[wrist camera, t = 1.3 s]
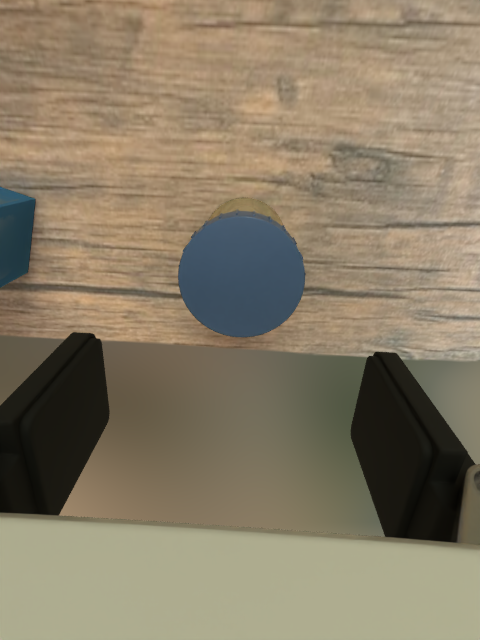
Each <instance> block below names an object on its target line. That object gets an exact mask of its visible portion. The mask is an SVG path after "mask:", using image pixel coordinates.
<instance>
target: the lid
mask: <svg viewBox="0 0 480 640" xmlns="http://www.w3.org/2000/svg"><path fill="white" fill-rule="evenodd" d="M191 238H192V239H191V241H190V242H189V243H188V245H186V247H185V248H184V250H183V255H182V258H181V260H180V265H179V273H178V280H179V288H180V292H181V295H182V298H183V300H184V302H185V304H186V306H187V308H188V309H189V311H190V312H191V313H192V314H193V316H194V317H195V318H196V319H197V320H198V321H200V322H201V323H202V324H203V325H205V326H206V327H208V328H209V329H211V330H213V331H215V332H218V333H220V334H223V335H227V336H232V337H252V336H257V335H261V334H264V333H267V332H269V331H271V330H273V329H275V328H276V327H278V326H279V325H281V324H282V323H283V322H285V321H286V320H287V319H288V318H289V317H290V315H291V314H292V313H293V312H294V310H295V309H296V307H297V306H298V304H299V302H300V300H301V297H302V294H303V290H304V285H305V270H304V265H303V257H302V255H301V253H300V252H299V250H298V248H297V246H296V244H297V243H296V241H295V239H294V237H293V238H292V237H291V236H290V234H289V233H288V232H287V231H286V229H285V227H284V225H282V226H281V225H280V224H279V223H278V222H276V221H275V220H273V219H271V216H269V217H267V216H265V215H263V214H259V213H256V212H255V211H253V212H250V211H239V210H236V211H234V212H228V213H225V214H222V213H220V215H219V216H217V217H215V218H213V219H211V220H210V221H208V220H207V221H206V222H205V223H204V225H203V226H202V227H201V228H200V229H199V230H198V231H197V232H196V231H195V232H194V234H193V235H192V236H191Z"/></svg>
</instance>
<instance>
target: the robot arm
mask: <svg viewBox="0 0 480 640" xmlns="http://www.w3.org/2000/svg"><path fill="white" fill-rule="evenodd" d="M108 420H109V404H108V394H107V386H106V377H105V368H104V359H103V351H102V343H101V340H100V339H96V337H95V335H94V334H91V333H76V332H73V333H72V334H70V335H69V336H68V338H67V339H66V340H65V341H64V342H63V343H62V344H61V345H60V346H59V347H58V348H57V349H56V350H55V351H54V352H53V353H52V354H51V355H50V356H49V357H48V358H47V359H46V360H45V361H44V362H43V363H42V364H41V365H40V366H39V367H38V368H37V369H36V370H35V371H34V372H33V373H32V374H31V375H30V376H29V377H28V378H27V379H26V380H25V381H24V382H23V383H22V384H21V385H20V386H19V387H18V388H17V389H16V390H15V391H14V392H13V393H12V394H11V395H10V396H9V397H8V398H7V400H5V401H4V402H3V404H2V405H1V406H0V640H480V464H478V465H476V464H475V463H474V462H473V460H472V459H471V457H470V456H469V455H468V452H467V451H466V449H465V448H464V446H463V445H462V444H461V442H460V441H459V439H458V438H457V437H456V435H455V434H454V433H453V431H452V430H451V428H450V427H449V425H448V424H447V423H446V421H445V420H444V418H443V417H442V416H441V414H440V413H439V412H438V410H437V409H436V407H435V406H434V405H433V403H432V402H431V400H430V399H429V397H428V396H427V395H426V393H425V392H424V391H423V389H422V388H421V386H420V385H419V384H418V382H417V381H416V379H415V378H414V377H413V375H412V374H411V372H410V371H409V370H408V368H407V367H406V365H405V364H404V363H403V361H402V360H401V358H400V357H399V356H398V354H397V353H389V352H375V353H374V355H373V356H369V357H368V358H367V361H366V365H365V369H364V374H363V378H362V382H361V386H360V391H359V396H358V399H357V404H356V408H355V413H354V417H353V421H352V425H351V439H352V442H353V445H354V448H355V450H356V453H357V456H358V459H359V462H360V465H361V468H362V471H363V474H364V477H365V479H366V482H367V485H368V488H369V491H370V494H371V496H372V500H373V503H374V505H375V508H376V511H377V514H378V517H379V520H380V523H381V526H382V529H383V531H384V534H385V537H379V536H365V535H350V534H337V533H323V532H309V531H293V530H280V529H265V528H250V527H234V526H219V525H203V524H189V523H188V524H187V523H173V522H157V521H141V520H125V519H108V518H90V517H74V516H59V514H60V512H61V510H62V508H63V506H64V504H65V503H66V501H67V499H68V497H69V495H70V493H71V491H72V489H73V487H74V485H75V483H76V482H77V480H78V478H79V476H80V474H81V472H82V470H83V469H84V467H85V465H86V463H87V461H88V459H89V457H90V455H91V453H92V451H93V449H94V448H95V446H96V444H97V442H98V440H99V438H100V436H101V434H102V432H103V431H104V429H105V427H106V425H107V423H108Z"/></svg>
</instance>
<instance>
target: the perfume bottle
mask: <svg viewBox="0 0 480 640" xmlns="http://www.w3.org/2000/svg"><path fill="white" fill-rule="evenodd" d="M34 209H35V199H34V198H31V197H28V196H25V195H22V194H19V193H17V192H14V191H11V190H8V189H5V188H2V187H0V287H2V286H4V285H6V284H8V283H9V282H11V281H13V280H15V279H17V278H19V277H20V276H22V275H24V274H26V273H28V267H29V258H30V248H31V238H32V228H33V219H34Z"/></svg>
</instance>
